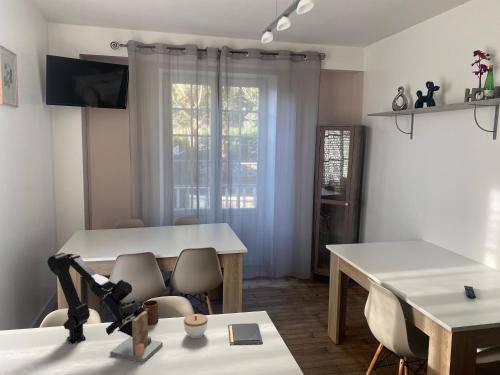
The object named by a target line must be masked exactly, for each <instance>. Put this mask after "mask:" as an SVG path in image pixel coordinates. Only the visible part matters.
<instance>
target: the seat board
mask: <svg viewBox="0 0 500 375" xmlns="http://www.w3.org/2000/svg"><path fill="white" fill-rule="evenodd" d="M135 347H136V354H134V353H133V341H132V337H131V336H129V337H127V339H125V340H123V341H122V342H121V343H120V344H118V345H116V346H115V348H112V350H110V352H109V354H110V356H112V357H113V356H114V357H118V358H123V359H126V360H130V361H131V360H132V361H135V362H141V363H145V362H146V361H148V360H149V358H151V357H152V356H153V355H154V354H155V353H156V352H157V351H158V350H159V349H161V348H162V347H163V341H157V340H153V339H152V337H151V336H149V335H148V344H146V345H145V346H144V344H141V343H138V344H137V345H136V346H135Z"/></svg>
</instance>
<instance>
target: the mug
mask: <svg viewBox="0 0 500 375" xmlns="http://www.w3.org/2000/svg"><path fill="white" fill-rule="evenodd" d="M141 307H142V308H143V309H144V311H146V312H147V318H148V326H149V325H155V324H157V323H158V322H159V302H158V301H157V300H155V299H154V300H152V299H151V300H146V301H144V302H142V306H141ZM144 311H143V312H144ZM143 312H142V313H143Z"/></svg>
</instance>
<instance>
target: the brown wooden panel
mask: <svg viewBox="0 0 500 375" xmlns="http://www.w3.org/2000/svg"><path fill="white" fill-rule="evenodd" d="M148 327H149V325H148V318H147V312H146V311H144V312H143V313H141V314H140V315H138V316H137V317H136V318H134V319H133V320H132V341H133V353H134V354H136V347H135V346H136V345H137V344H138V343H141V344H144V346H145V345H146V344H148V336H149V335H148V334H149V330H148Z"/></svg>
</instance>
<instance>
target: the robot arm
mask: <svg viewBox="0 0 500 375" xmlns="http://www.w3.org/2000/svg"><path fill="white" fill-rule="evenodd" d="M46 262H47V265H48V269H50V271H51V272H52V273H53V274H54V275H56V277H57V279H58V281H59V284H60V287H61V290H62V292H63V295H64V298H65V300H66V303H67V305H68V307H67V313H66V314H67V318H68V319H67V320H66V321H65V322H64V323H63V328H64V329H65V330H68V336H67V337H66V338H67V340H68V342H69V344H71V345H72V344H74V343H78V342H81V341H85V340H86V339H87V338H86V336H85V335H84V325H85V324H86V323H88V320H89V318H90V316H91V314H90V313H91V311H90V309H89V306H88V304H87V303H83V302H82V301H81V300H80V297H79V294H78V292H77V288H76V286H75V284H74V281H73V278H72V275H71V272H70V268H73V269H74V270H75V271H76V272H77V273H78V274H79V276H81V277H82V278H83V279H84V280H85V281H86V282H87V284H88V285H89V289H90V291H91V293H92V294H93V295H94V296H96V297H100V301H99V305H102V304H105V306H106V307H107V309H108V311H110V313H109V315H110V316H111V317H112V316H113V317H114V319H115V321H113V322H111V323H110V324H109V325H108V326H107V327H105V332H106V334H107V336H110V335H111V334H113V333H114V332H115V330H117V329H118V330H117V332H118V333H119V332H120V333H123V334H125V335H127V336H129V337H130V336H131V337H132V320H133V319H134V318H136V317H137V316H138V315H140V314H141V313H142V312H143V311H144V309H143V308H142V306H141V302H140V301H139V300H138V299H137V298H136V299H134V300H131V303H129V304H128V303H127V302H123V300H124V299H126V298H127V297H128V296H129V295H130V294H131V293H132V292H133V287H132V285H131V284H130V283H129V282H127V281H124V280H123V279H120V280H119V281H117V283H115V282H113V281H111V280H110V279H109V278H107V277H106V276H103V275H101V274H98V273H97V272H96V271H95V270H94V269H93V268H92V267H91V266H90V265H89V264H88V263H87V262H86V261H85V260H83V258H81V255H80V254H78V253H66V252H60V253H57V254H54V255H51V256H49V257H48V259H47V261H46Z"/></svg>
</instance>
